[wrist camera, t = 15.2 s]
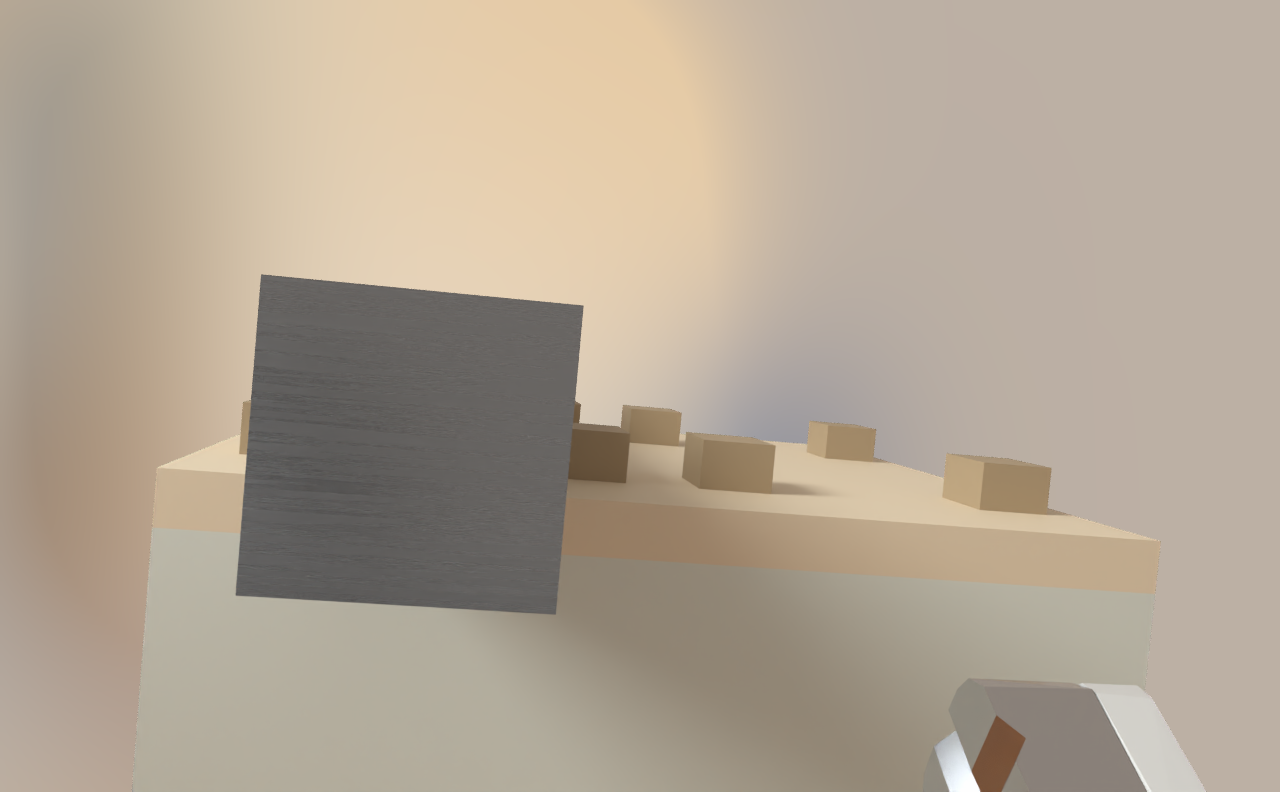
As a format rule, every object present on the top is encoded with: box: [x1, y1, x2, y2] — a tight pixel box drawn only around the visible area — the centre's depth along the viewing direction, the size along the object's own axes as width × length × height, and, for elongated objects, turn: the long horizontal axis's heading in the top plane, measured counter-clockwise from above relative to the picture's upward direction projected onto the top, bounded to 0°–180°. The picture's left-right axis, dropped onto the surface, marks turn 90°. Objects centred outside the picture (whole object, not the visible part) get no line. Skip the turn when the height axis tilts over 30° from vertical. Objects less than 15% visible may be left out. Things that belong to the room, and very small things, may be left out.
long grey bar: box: [235, 275, 583, 615], centre depth 25 cm, size 28×3×3 cm, turn 8°
